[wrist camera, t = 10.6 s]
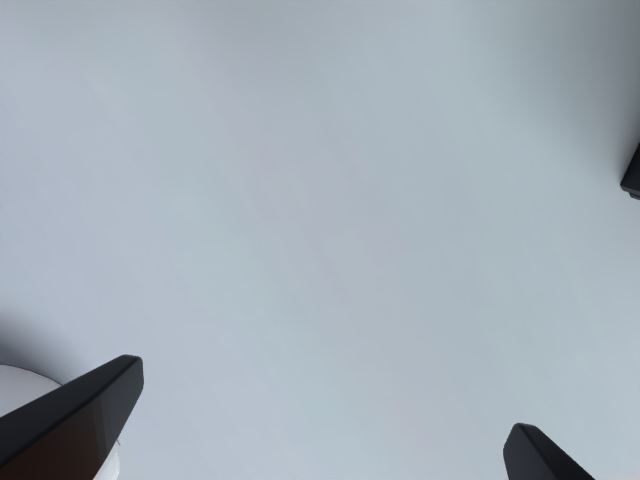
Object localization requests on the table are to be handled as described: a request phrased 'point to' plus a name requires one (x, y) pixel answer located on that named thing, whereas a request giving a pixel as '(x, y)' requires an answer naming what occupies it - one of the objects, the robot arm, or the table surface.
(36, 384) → the roll of tape
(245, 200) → the table surface
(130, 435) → the table surface
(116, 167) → the table surface
